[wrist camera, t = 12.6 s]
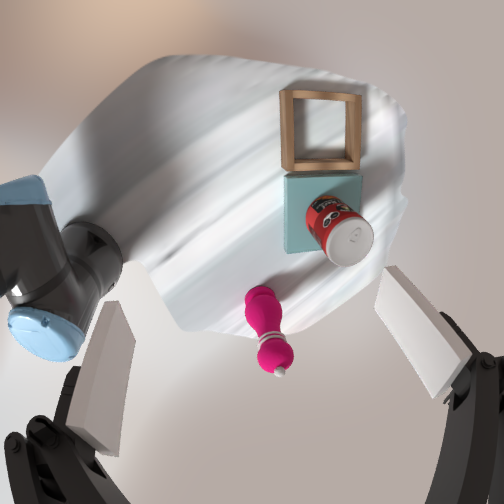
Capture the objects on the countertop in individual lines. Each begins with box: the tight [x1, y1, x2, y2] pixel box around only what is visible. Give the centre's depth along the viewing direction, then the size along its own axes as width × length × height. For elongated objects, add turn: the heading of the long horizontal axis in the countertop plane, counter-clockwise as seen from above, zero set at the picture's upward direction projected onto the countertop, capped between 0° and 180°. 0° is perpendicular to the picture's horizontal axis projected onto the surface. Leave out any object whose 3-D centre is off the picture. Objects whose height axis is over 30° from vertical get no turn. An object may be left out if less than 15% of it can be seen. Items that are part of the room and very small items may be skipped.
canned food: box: [306, 195, 374, 267], centre depth 43 cm, size 8×8×11 cm
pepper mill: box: [245, 286, 294, 377], centre depth 49 cm, size 7×7×20 cm
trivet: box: [284, 173, 363, 254], centre depth 49 cm, size 14×14×2 cm
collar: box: [279, 90, 362, 171], centre depth 40 cm, size 13×13×4 cm
